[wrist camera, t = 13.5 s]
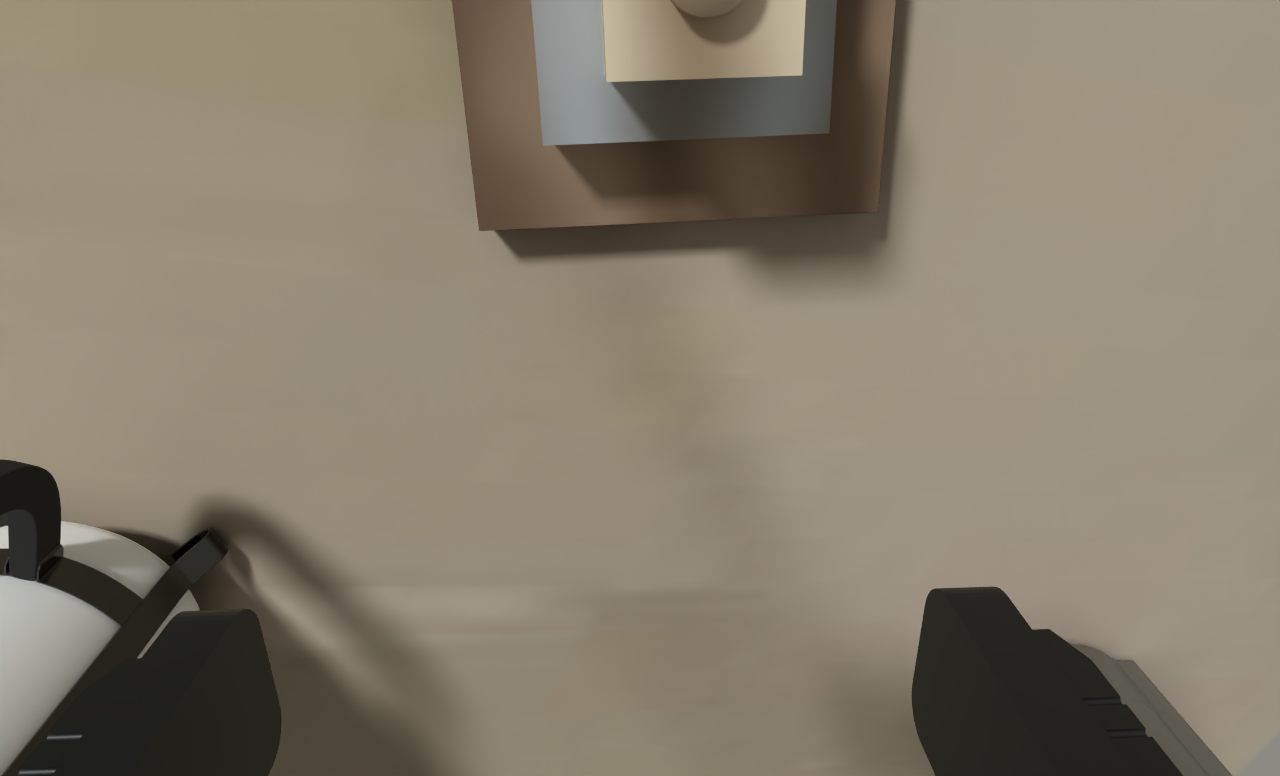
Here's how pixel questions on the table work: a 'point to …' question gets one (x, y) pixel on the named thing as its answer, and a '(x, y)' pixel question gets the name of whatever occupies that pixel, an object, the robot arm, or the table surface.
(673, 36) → the maple block
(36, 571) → the coffee press
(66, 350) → the table surface
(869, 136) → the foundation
